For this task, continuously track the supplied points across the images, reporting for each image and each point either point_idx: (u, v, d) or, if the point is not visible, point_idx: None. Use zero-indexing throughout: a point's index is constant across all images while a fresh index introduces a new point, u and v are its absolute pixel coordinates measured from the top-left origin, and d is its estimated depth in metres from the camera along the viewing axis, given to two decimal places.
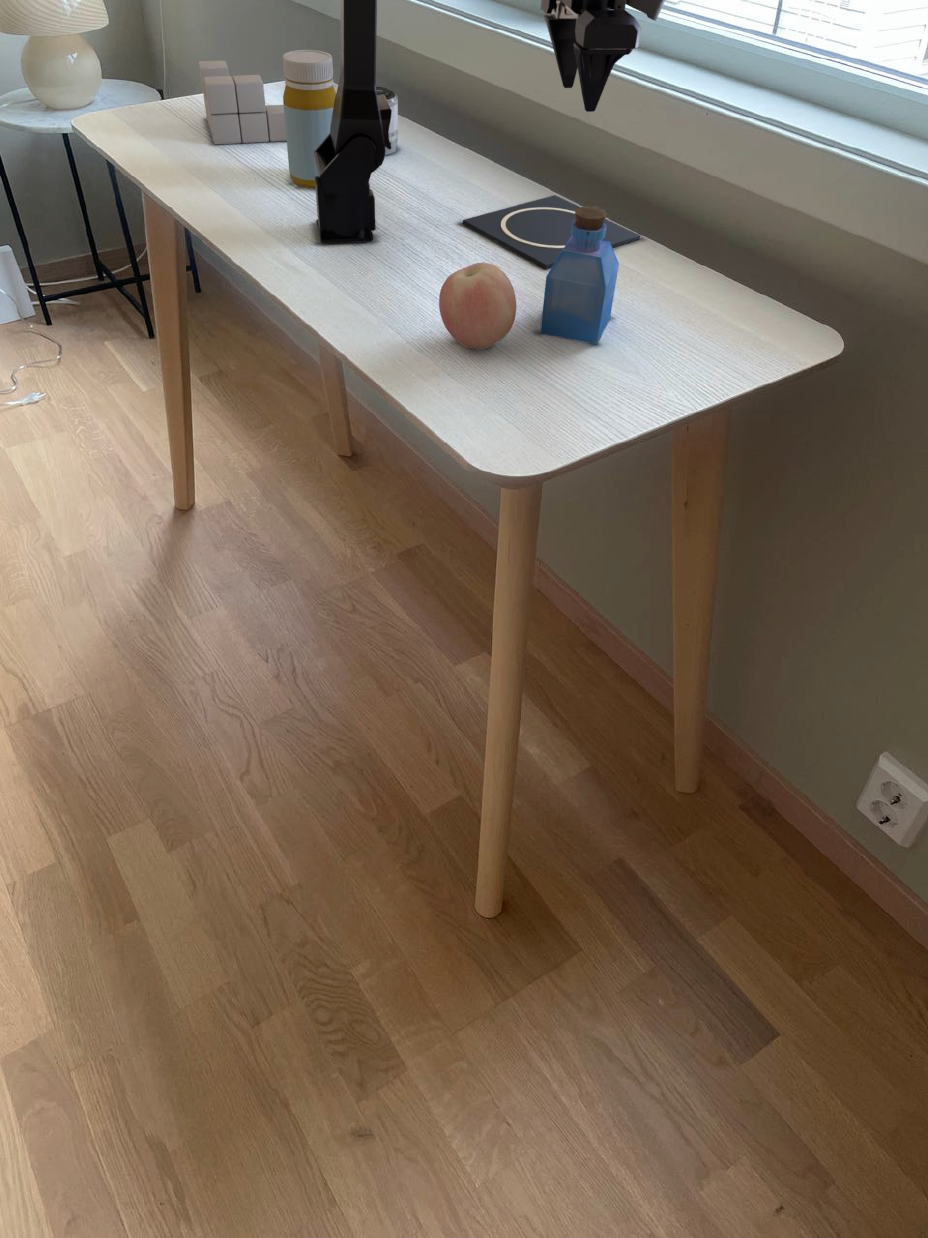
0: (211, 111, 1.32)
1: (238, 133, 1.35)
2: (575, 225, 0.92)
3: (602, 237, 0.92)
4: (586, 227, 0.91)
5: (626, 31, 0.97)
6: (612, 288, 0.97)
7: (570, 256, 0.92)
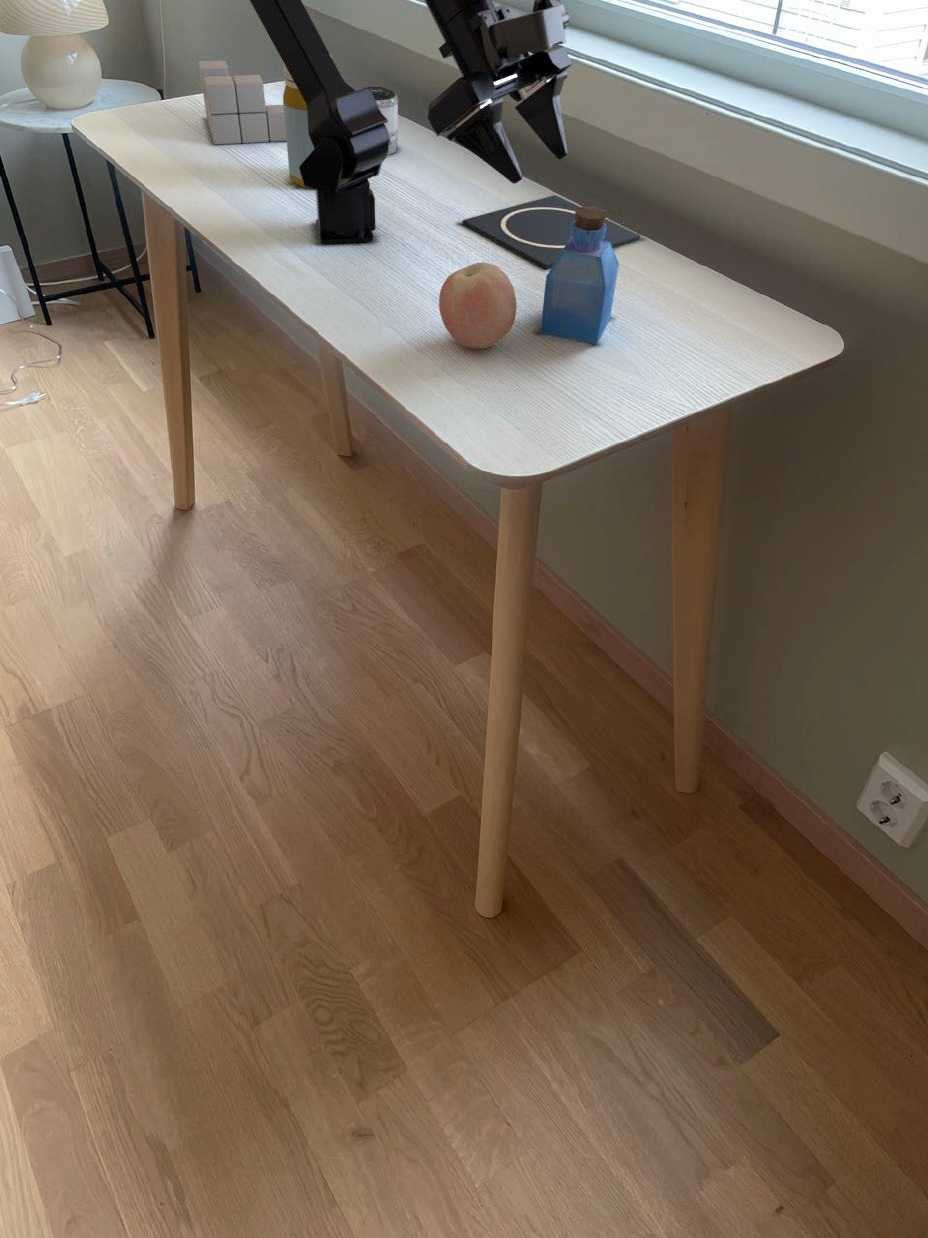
0: (211, 111, 1.32)
1: (238, 133, 1.35)
2: (575, 225, 0.92)
3: (602, 237, 0.92)
4: (586, 227, 0.91)
5: (455, 97, 0.86)
6: (612, 288, 0.97)
7: (570, 256, 0.92)
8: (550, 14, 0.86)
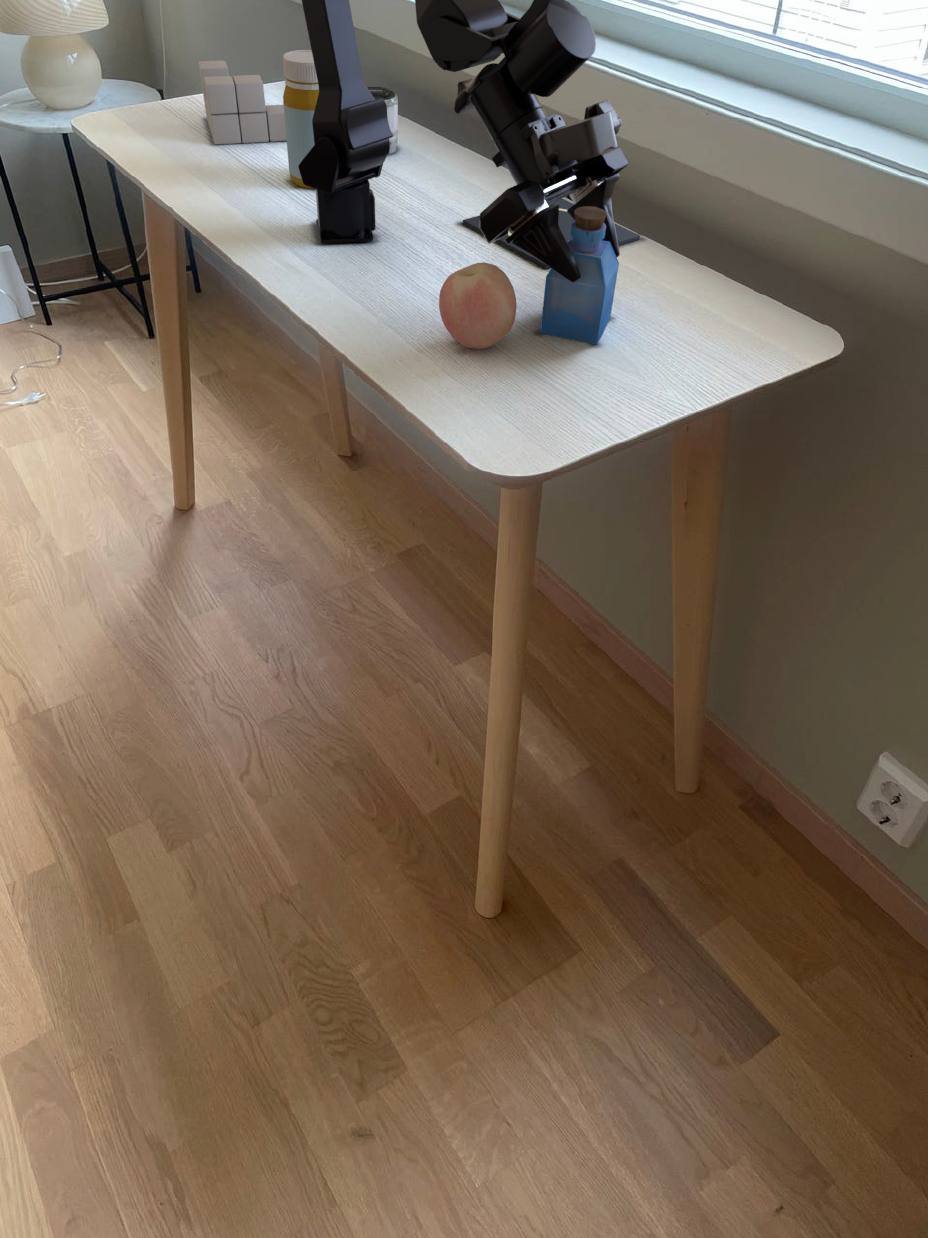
0: (211, 111, 1.32)
1: (238, 133, 1.35)
2: (575, 225, 0.92)
3: (602, 237, 0.92)
4: (585, 228, 0.91)
5: (504, 207, 0.86)
6: (612, 288, 0.97)
7: None
8: (599, 122, 0.85)
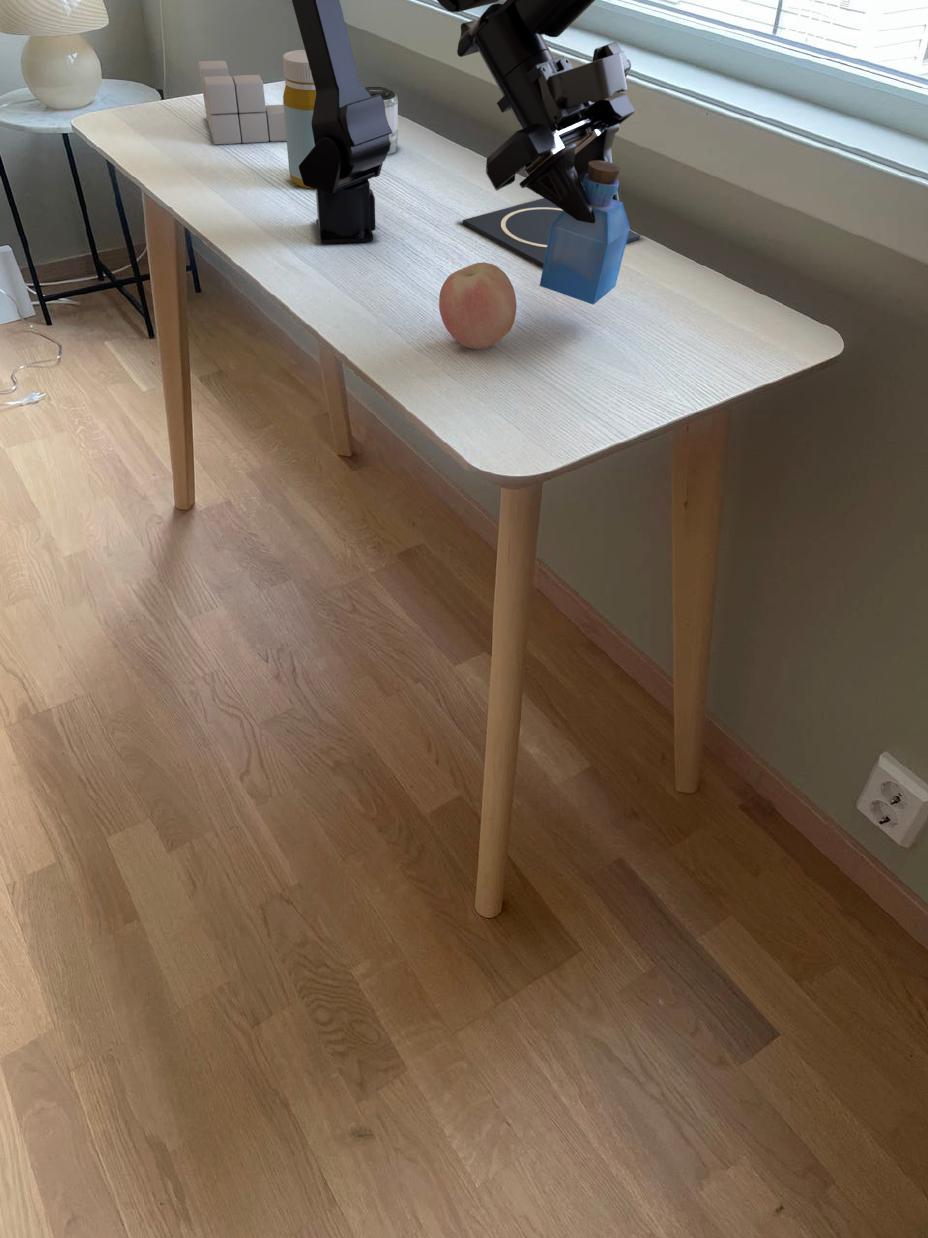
0: (211, 111, 1.32)
1: (238, 133, 1.35)
2: (587, 177, 0.90)
3: (612, 193, 0.90)
4: (597, 179, 0.89)
5: (513, 150, 0.84)
6: (619, 251, 0.95)
7: None
8: (610, 62, 0.83)
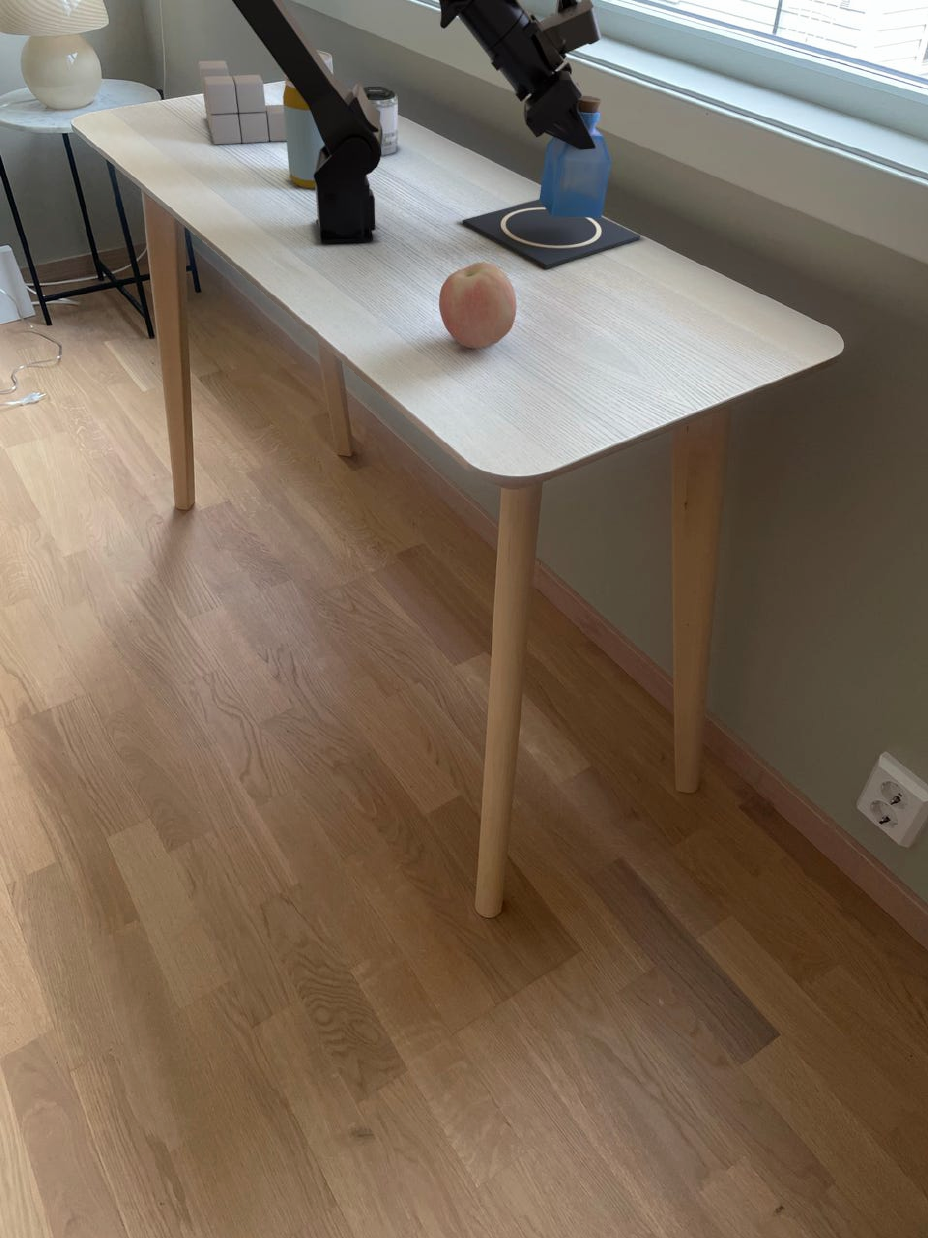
0: (211, 111, 1.32)
1: (238, 133, 1.35)
2: None
3: (598, 119, 1.06)
4: (589, 111, 1.05)
5: (560, 96, 0.96)
6: None
7: None
8: None
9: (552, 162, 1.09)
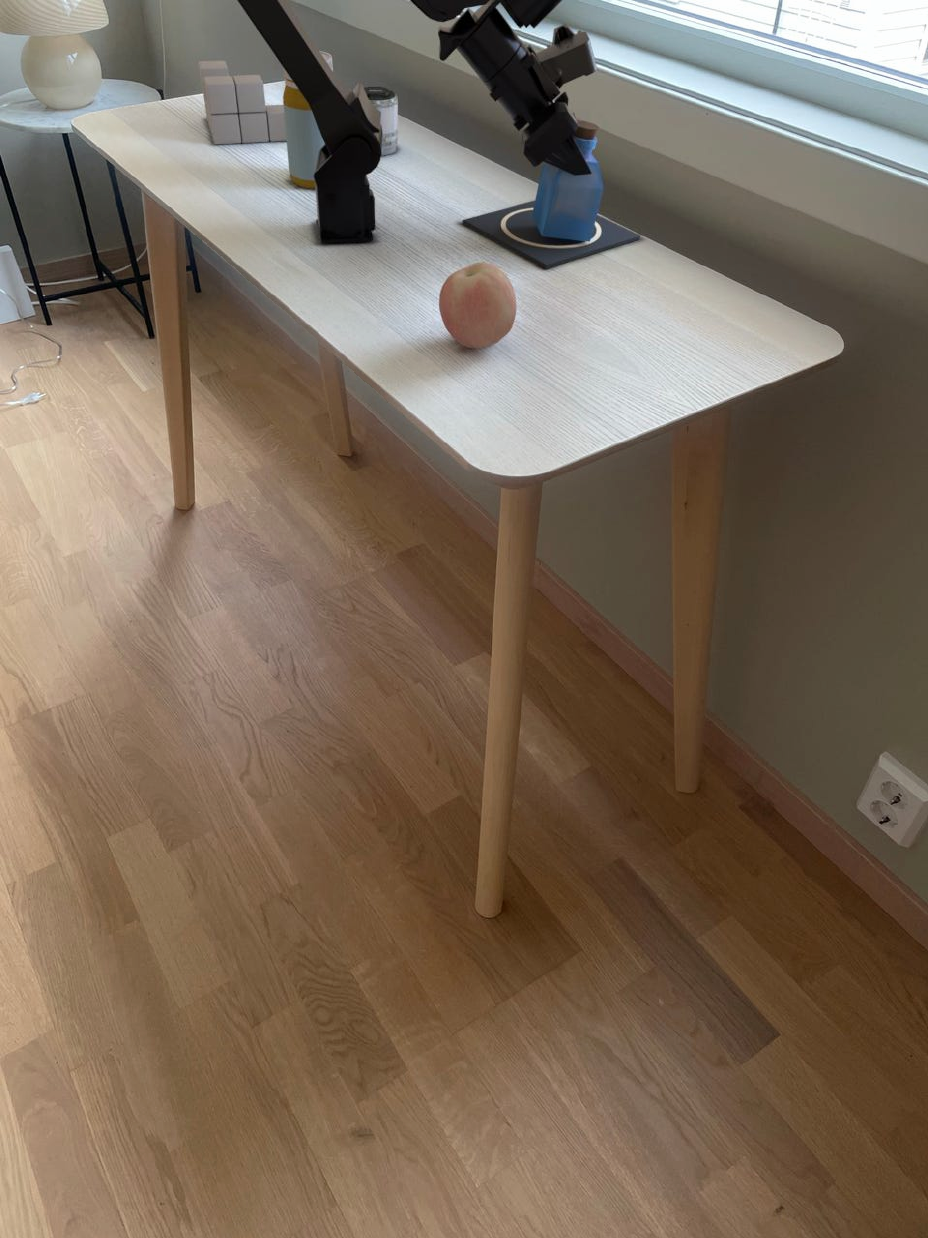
0: (211, 111, 1.32)
1: (238, 133, 1.35)
2: (574, 136, 1.07)
3: None
4: (586, 137, 1.06)
5: (557, 128, 0.98)
6: None
7: None
8: None
9: (546, 182, 1.10)
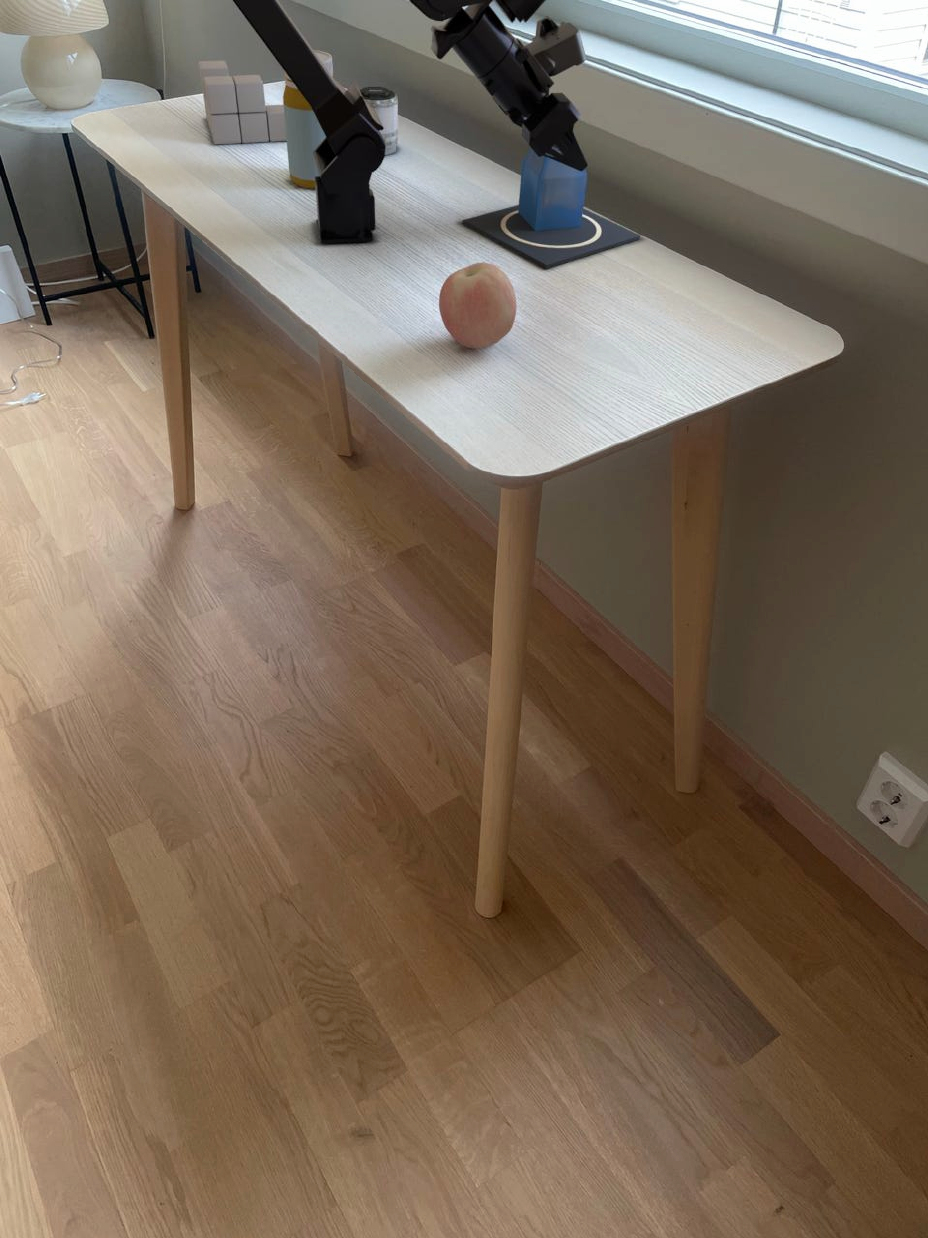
0: (211, 111, 1.32)
1: (238, 133, 1.35)
2: None
3: None
4: None
5: (561, 117, 1.02)
6: None
7: None
8: None
9: (531, 179, 1.14)
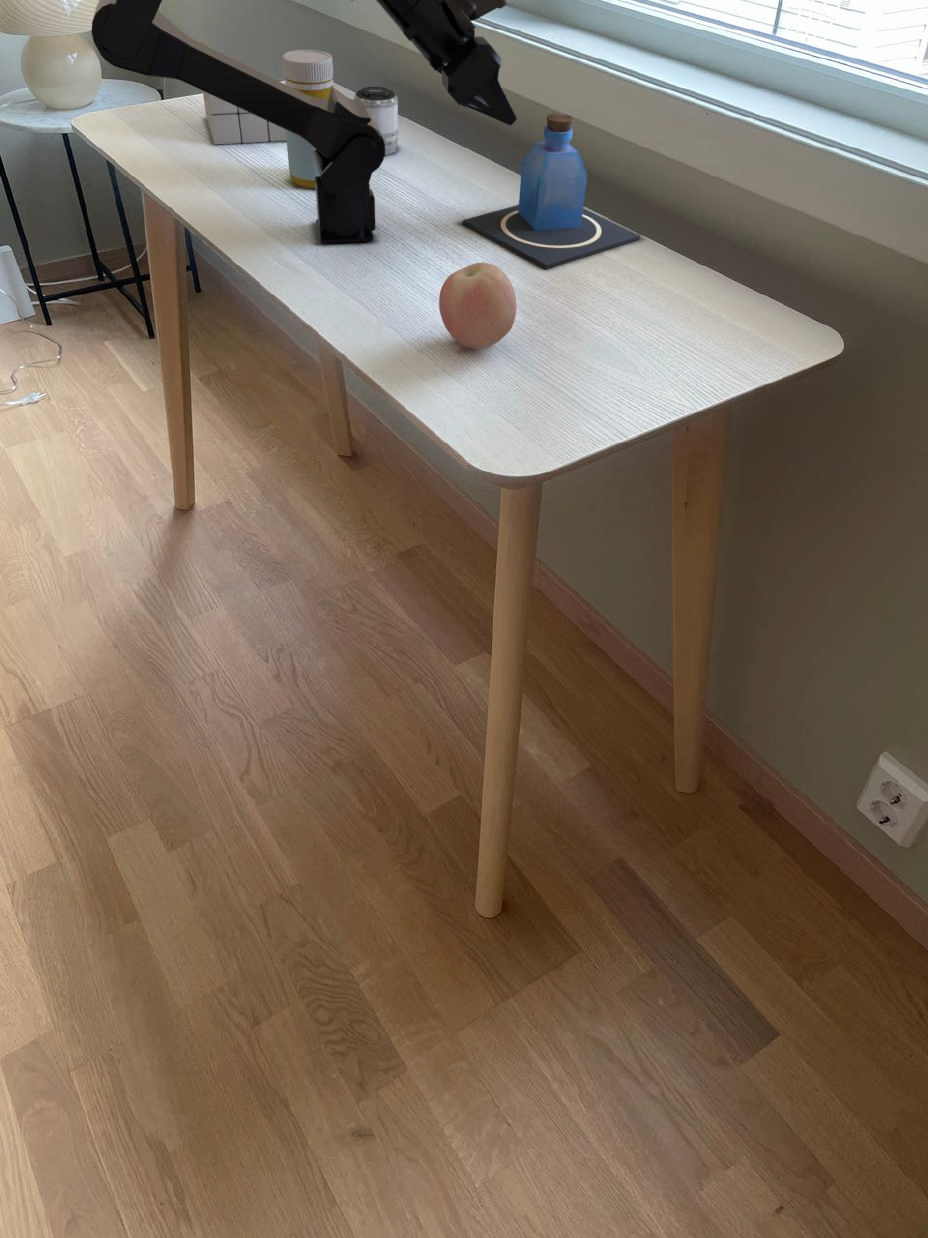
0: (211, 111, 1.32)
1: (238, 133, 1.35)
2: (551, 130, 1.10)
3: None
4: (563, 130, 1.10)
5: (480, 62, 0.96)
6: None
7: (554, 157, 1.11)
8: None
9: (531, 179, 1.14)
